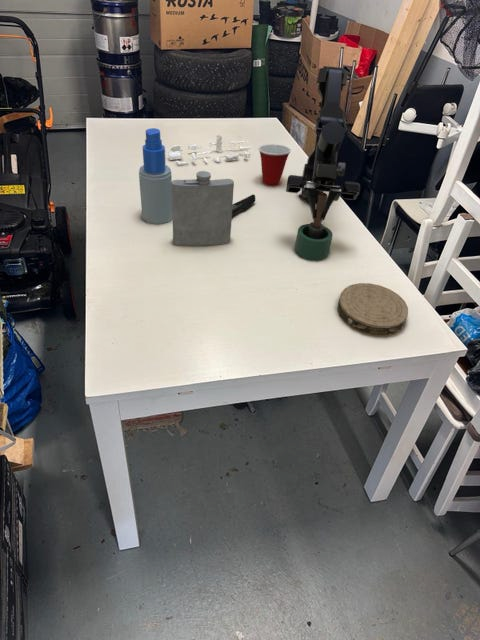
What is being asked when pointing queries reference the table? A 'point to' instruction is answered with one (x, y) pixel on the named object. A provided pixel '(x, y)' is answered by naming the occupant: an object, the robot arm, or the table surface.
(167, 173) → the spray bottle
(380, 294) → the wood slice coaster
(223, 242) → the hip flask
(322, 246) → the round container
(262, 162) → the plastic cup
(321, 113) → the robot arm
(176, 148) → the miniature set
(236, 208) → the electric trimmer
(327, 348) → the table surface
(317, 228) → the brown cylinder with base
